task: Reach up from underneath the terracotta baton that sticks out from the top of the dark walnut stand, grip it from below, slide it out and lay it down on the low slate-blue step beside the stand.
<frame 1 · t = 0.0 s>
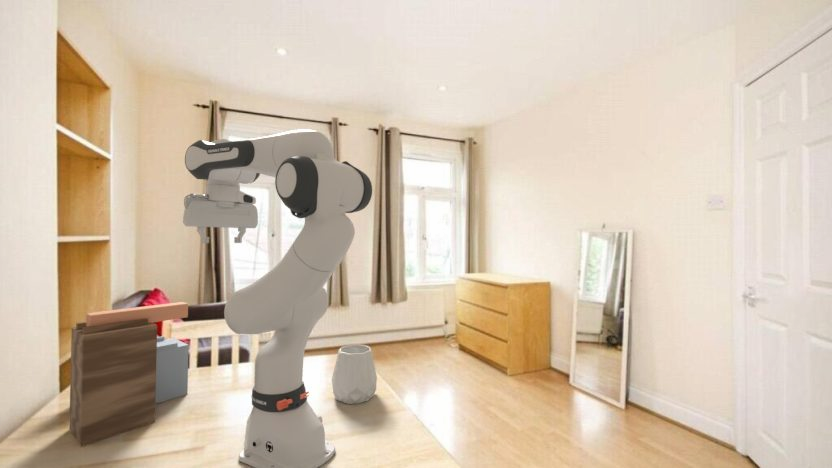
hand: (222, 243, 109), 48 cm above the table, tool pointing down, fingers open, 8 cm apart
stand: (113, 425, 97), on the table
baton: (140, 322, 101), point 26 cm above the table, touching stand
vase: (354, 397, 117), on the table
step: (160, 394, 116), on the table
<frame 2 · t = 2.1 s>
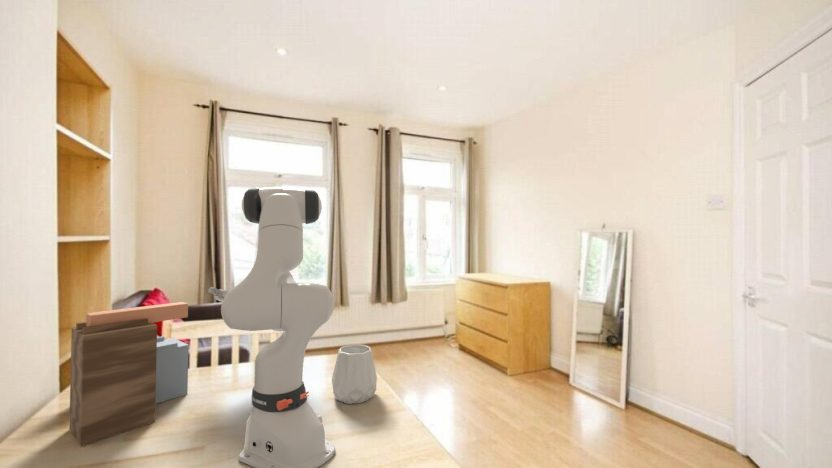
hand: (217, 290, 117), 33 cm above the table, tool pointing upward, fingers open, 8 cm apart
nothing on the table moved.
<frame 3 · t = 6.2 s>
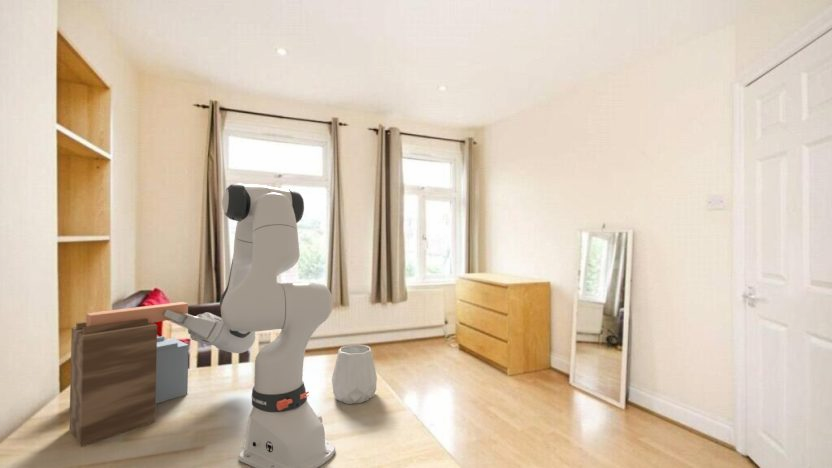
hand: (160, 311, 105), 28 cm above the table, tool pointing upward, fingers closed on baton, 4 cm apart
baton: (140, 322, 101), point 26 cm above the table, touching gripper, stand
everything else where it was.
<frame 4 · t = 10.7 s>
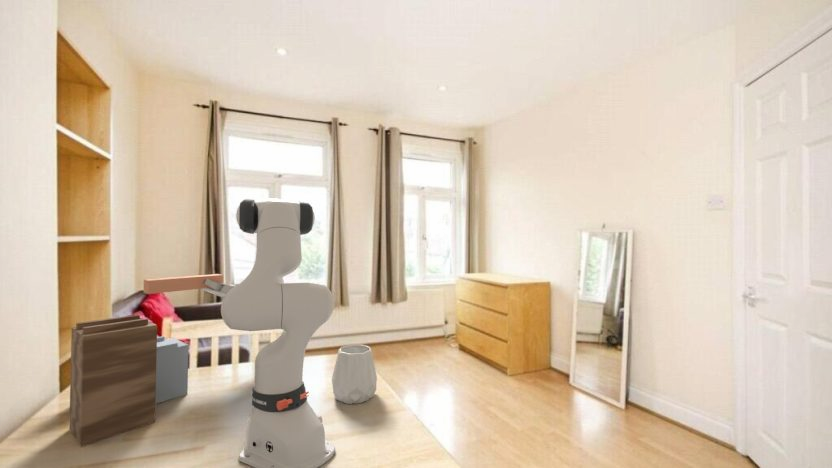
hand: (201, 280, 125), 35 cm above the table, tool pointing upward, fingers closed on baton, 4 cm apart
baton: (185, 289, 121), point 32 cm above the table, touching gripper
everything else where it was.
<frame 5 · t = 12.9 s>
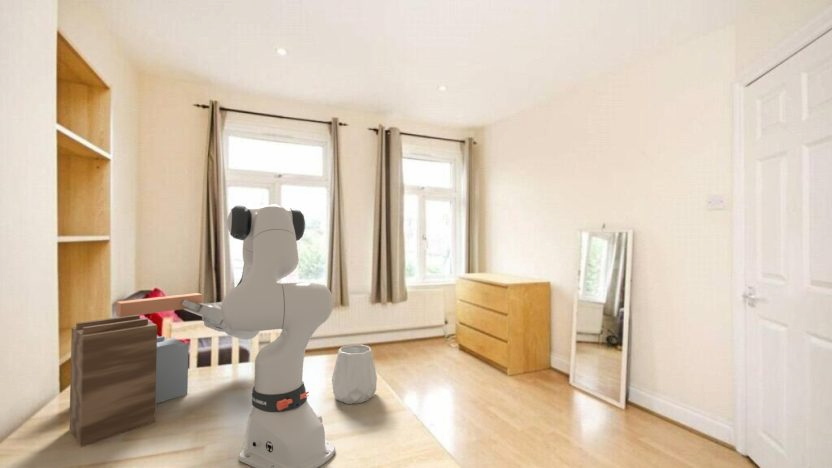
hand: (179, 300, 120), 29 cm above the table, tool pointing upward, fingers closed on baton, 4 cm apart
baton: (162, 310, 116), point 26 cm above the table, touching gripper
everything else where it was.
when the fingers open (18 cm above the table, at t = 15.0 s): baton stays where it is, resting on step.
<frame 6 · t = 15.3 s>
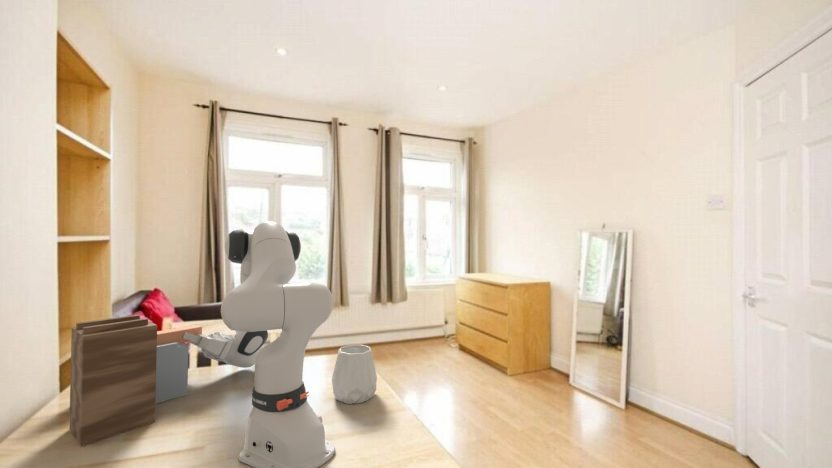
hand: (178, 332, 120), 18 cm above the table, tool pointing upward, fingers open, 7 cm apart
baton: (161, 344, 116), point 15 cm above the table, touching step
everything else where it was.
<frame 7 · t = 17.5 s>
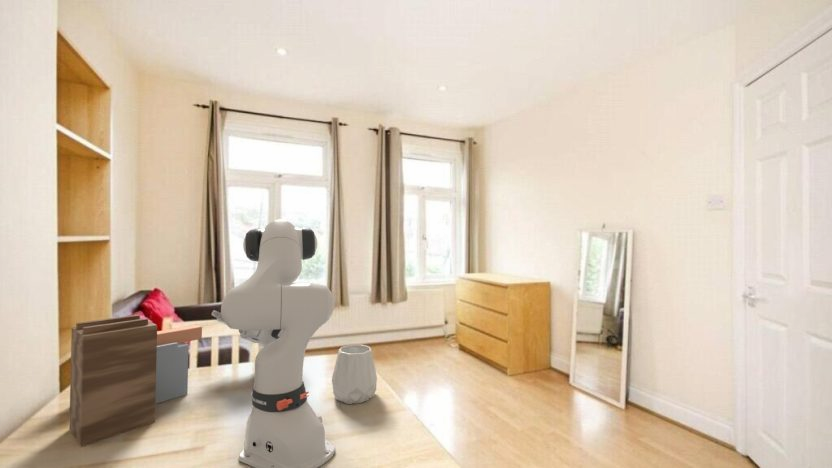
hand: (219, 314, 128), 23 cm above the table, tool pointing upward, fingers open, 8 cm apart
nothing on the table moved.
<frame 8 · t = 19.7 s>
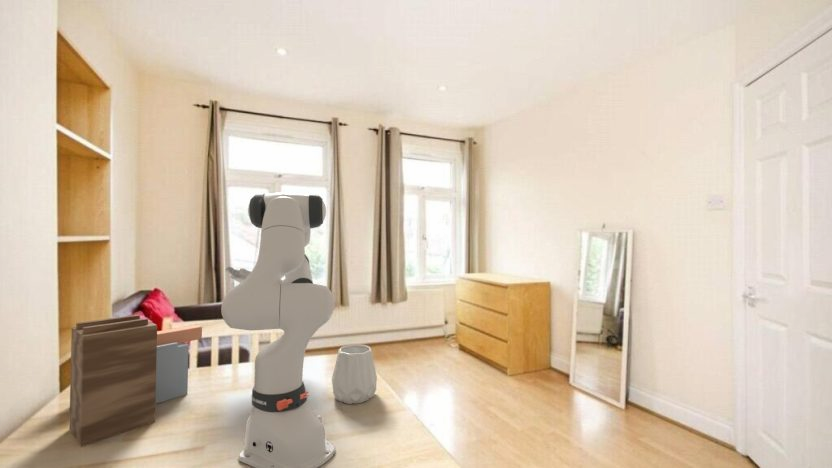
hand: (233, 269, 127), 38 cm above the table, tool pointing upward, fingers open, 8 cm apart
nothing on the table moved.
at the end: baton inside the target area (0.1 cm from its centre), point 15.5 cm above the table; baton touching step; the gripper is holding nothing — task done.
